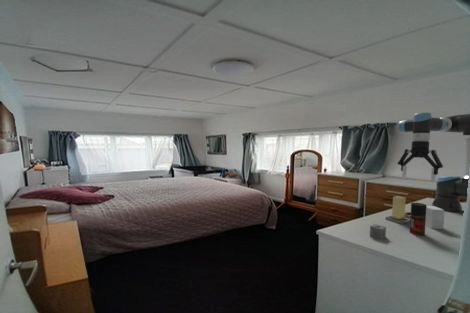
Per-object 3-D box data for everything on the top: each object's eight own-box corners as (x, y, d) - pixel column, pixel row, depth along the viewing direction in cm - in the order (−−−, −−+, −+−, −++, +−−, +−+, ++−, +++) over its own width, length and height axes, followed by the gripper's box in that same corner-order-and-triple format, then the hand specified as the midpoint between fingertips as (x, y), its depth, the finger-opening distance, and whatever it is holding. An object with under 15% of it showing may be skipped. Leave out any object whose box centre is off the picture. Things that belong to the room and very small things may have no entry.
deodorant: (407, 231, 113) (408, 203, 112) (413, 230, 115) (415, 202, 114) (420, 236, 108) (422, 206, 107) (427, 234, 110) (429, 205, 109)
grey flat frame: (408, 213, 142) (408, 211, 142) (425, 218, 134) (425, 215, 134) (385, 219, 132) (385, 216, 132) (402, 224, 124) (402, 221, 124)
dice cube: (369, 236, 108) (370, 226, 108) (374, 233, 111) (374, 223, 111) (381, 239, 104) (381, 229, 104) (385, 237, 107) (386, 227, 107)
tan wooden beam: (396, 218, 133) (397, 196, 132) (404, 221, 129) (405, 197, 128) (391, 219, 131) (393, 196, 130) (400, 222, 127) (401, 198, 126)
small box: (443, 229, 117) (445, 210, 116) (431, 228, 118) (432, 209, 117) (433, 224, 124) (434, 205, 124) (422, 223, 125) (423, 205, 125)
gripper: (392, 140, 132) (390, 175, 133) (446, 140, 110) (443, 182, 111) (399, 141, 135) (397, 175, 136) (453, 141, 113) (450, 181, 114)
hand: (417, 178), depth 124 cm, fingers open, 13 cm apart
